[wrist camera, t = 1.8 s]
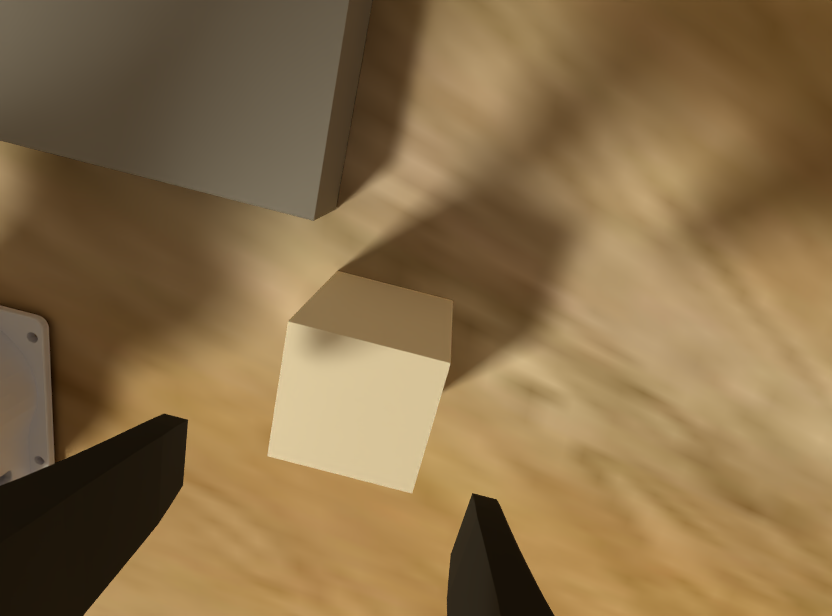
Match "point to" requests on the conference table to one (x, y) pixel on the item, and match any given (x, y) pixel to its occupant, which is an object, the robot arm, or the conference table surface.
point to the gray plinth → (190, 91)
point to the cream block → (362, 380)
